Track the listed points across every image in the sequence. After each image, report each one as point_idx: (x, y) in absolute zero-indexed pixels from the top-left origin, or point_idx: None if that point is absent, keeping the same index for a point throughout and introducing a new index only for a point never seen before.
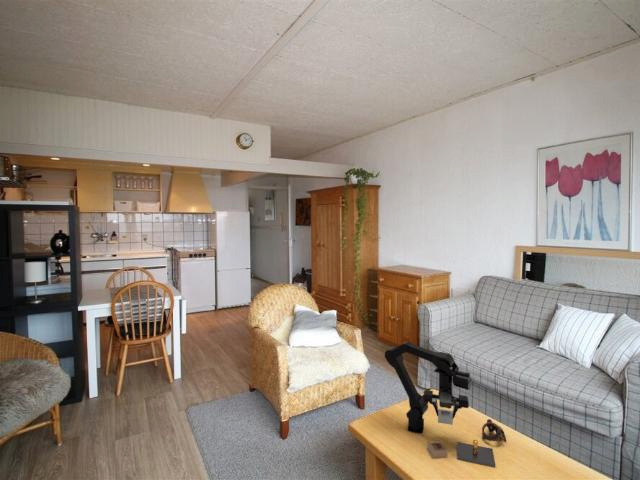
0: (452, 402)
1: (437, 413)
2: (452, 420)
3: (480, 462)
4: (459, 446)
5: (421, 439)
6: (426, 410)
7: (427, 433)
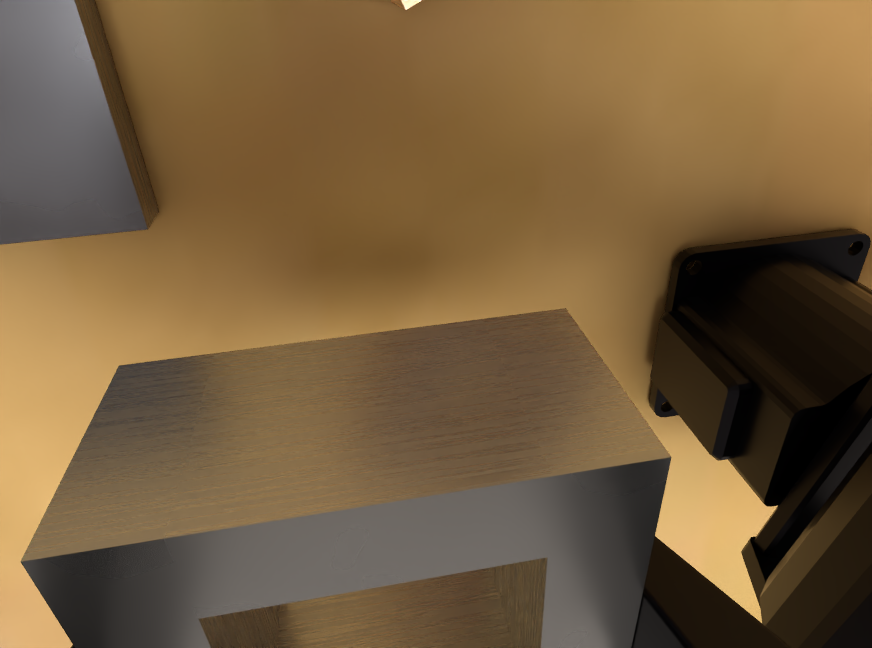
0: None
1: (657, 577)
2: (68, 476)
3: None
4: (61, 107)
5: (694, 108)
6: (806, 593)
7: (599, 286)
